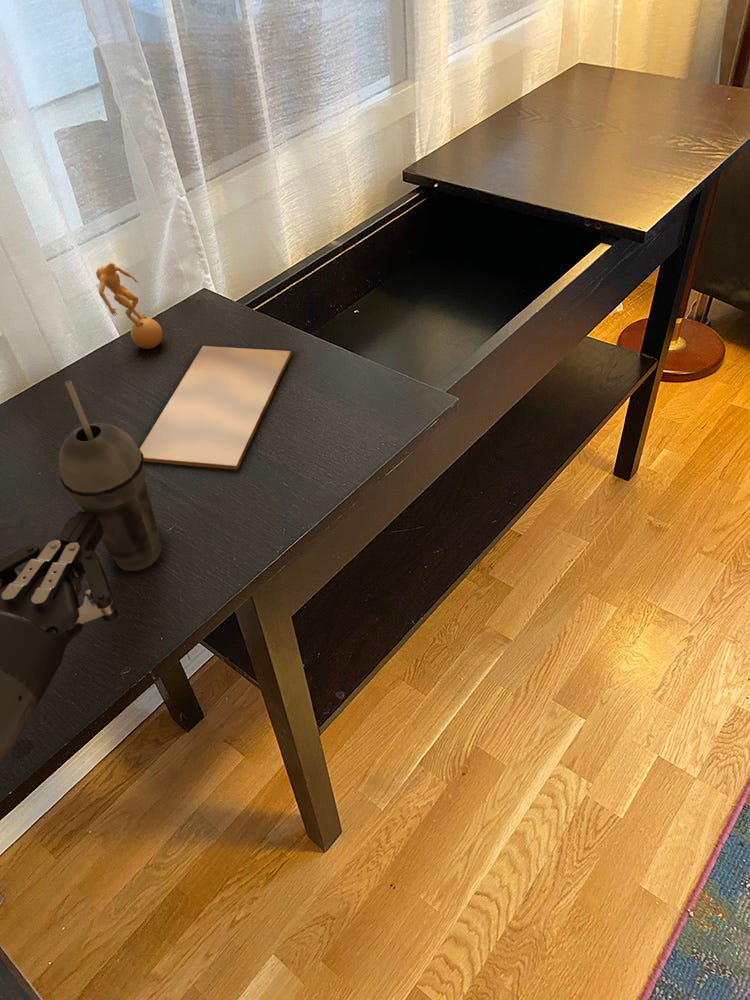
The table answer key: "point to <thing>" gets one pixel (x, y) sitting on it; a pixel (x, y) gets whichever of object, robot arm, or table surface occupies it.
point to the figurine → (129, 307)
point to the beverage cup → (111, 488)
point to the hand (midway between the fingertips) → (91, 518)
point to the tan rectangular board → (216, 408)
